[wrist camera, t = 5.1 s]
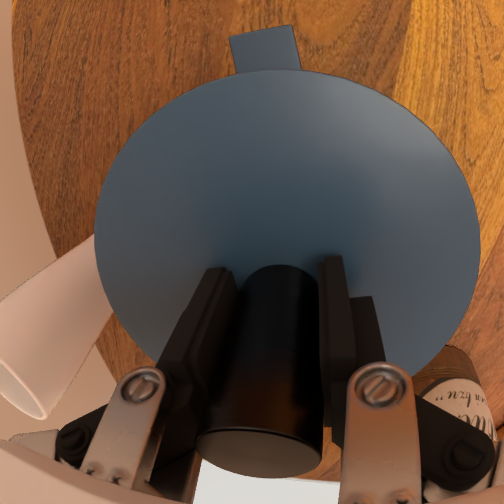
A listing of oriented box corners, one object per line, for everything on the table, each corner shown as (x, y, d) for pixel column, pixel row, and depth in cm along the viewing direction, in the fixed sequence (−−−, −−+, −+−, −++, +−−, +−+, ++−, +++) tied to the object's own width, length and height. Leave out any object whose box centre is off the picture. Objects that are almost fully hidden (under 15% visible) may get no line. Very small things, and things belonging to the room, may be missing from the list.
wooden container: (495, 368, 25) (540, 548, 6) (404, 436, 32) (408, 589, 13) (412, 319, 23) (453, 596, 4) (313, 407, 31) (287, 602, 12)
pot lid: (176, 390, 16) (134, 496, 10) (67, 134, 10) (-85, 203, 4) (437, 377, 13) (463, 499, 7) (464, 61, 7) (637, 71, 1)
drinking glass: (73, 231, 25) (-46, 337, 12) (126, 207, 23) (-17, 333, 10) (109, 293, 28) (17, 414, 15) (164, 280, 26) (67, 429, 13)
